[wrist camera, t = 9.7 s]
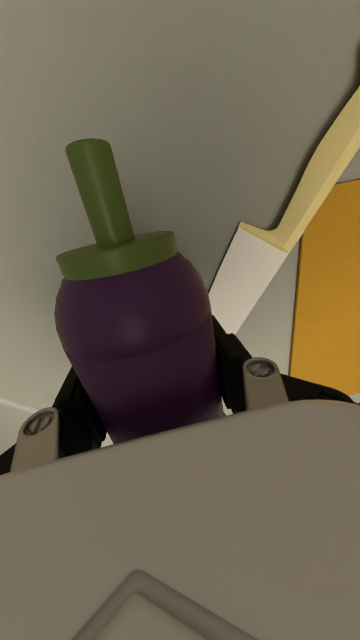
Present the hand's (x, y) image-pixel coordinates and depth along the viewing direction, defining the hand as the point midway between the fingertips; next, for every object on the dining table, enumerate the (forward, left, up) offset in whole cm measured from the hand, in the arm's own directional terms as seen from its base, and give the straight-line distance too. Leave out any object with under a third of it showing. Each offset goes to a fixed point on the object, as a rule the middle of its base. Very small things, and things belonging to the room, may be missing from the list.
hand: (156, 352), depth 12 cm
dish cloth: (+5, +21, -7) cm, 23 cm away
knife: (-2, +8, -7) cm, 11 cm away
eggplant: (-1, 0, -1) cm, 1 cm away
